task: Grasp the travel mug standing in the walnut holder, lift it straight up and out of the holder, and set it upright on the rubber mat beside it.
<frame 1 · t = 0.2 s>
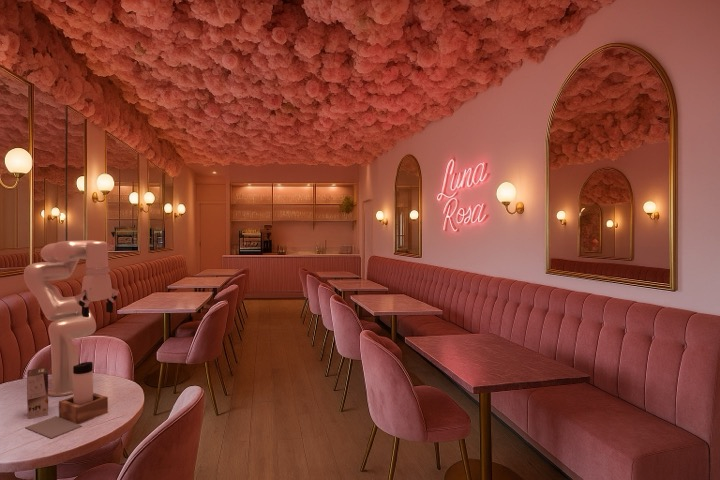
hand: (97, 314, 171), 36 cm above the table, tool pointing down, fingers open, 9 cm apart
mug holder: (83, 414, 162), on the table
coffee box: (38, 413, 163), on the table
travel mug: (83, 415, 162), resting in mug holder
rubber mat: (53, 427, 152), on the table
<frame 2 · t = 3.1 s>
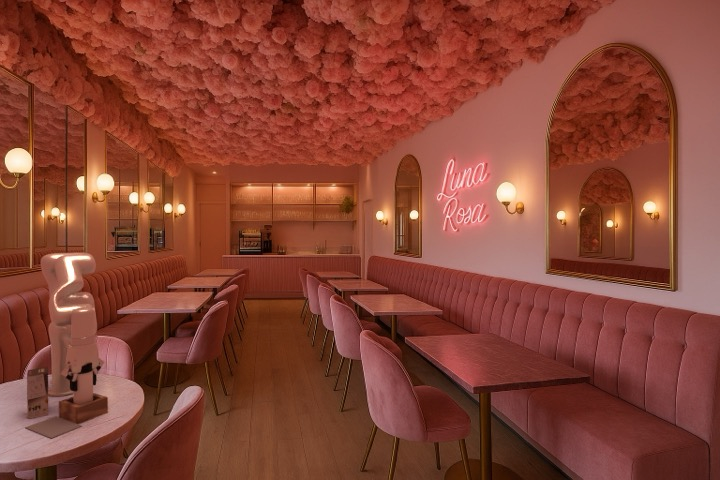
hand: (83, 387, 162), 11 cm above the table, tool pointing down, fingers closed on travel mug, 6 cm apart
travel mug: (83, 415, 162), resting in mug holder, touching gripper
everything else where it was.
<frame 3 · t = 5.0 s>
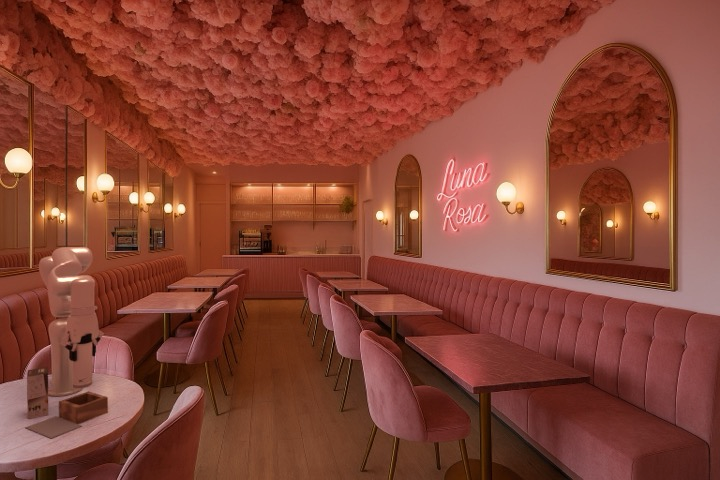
hand: (82, 357, 162), 22 cm above the table, tool pointing down, fingers closed on travel mug, 6 cm apart
travel mug: (83, 385, 162), point 11 cm above the table, touching gripper
everything else where it was.
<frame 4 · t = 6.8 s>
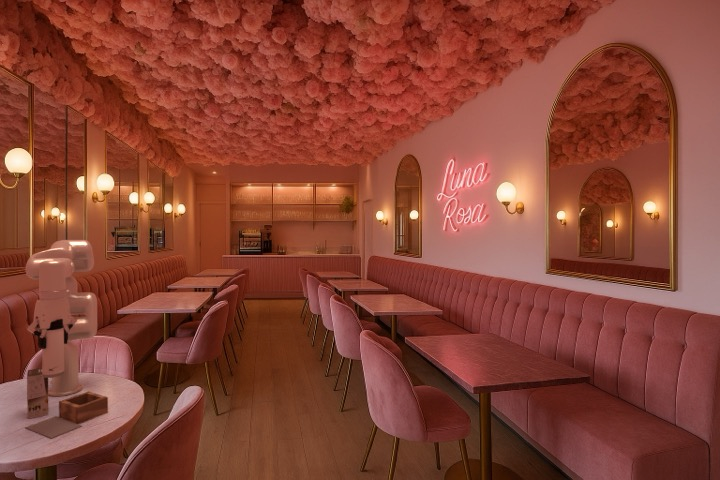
hand: (53, 345, 151), 30 cm above the table, tool pointing down, fingers closed on travel mug, 6 cm apart
travel mug: (53, 375, 151), point 19 cm above the table, touching gripper
everything else where it was.
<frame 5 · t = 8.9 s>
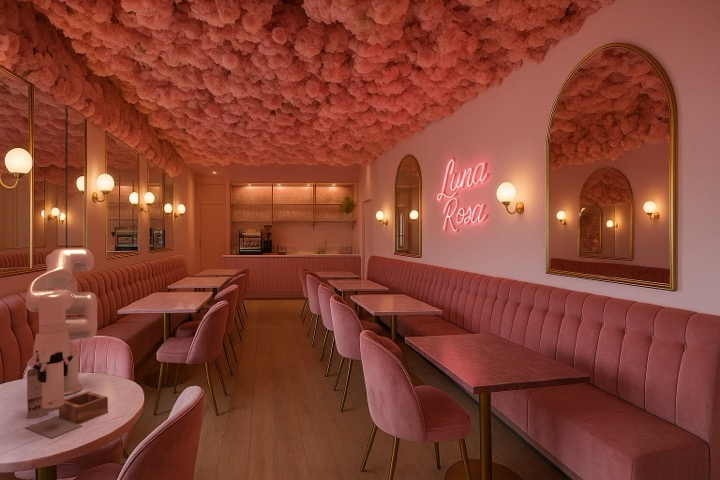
hand: (53, 378, 151), 18 cm above the table, tool pointing down, fingers closed on travel mug, 6 cm apart
travel mug: (53, 408, 151), point 7 cm above the table, touching gripper
everything else where it was.
when the fingers open (12 cm above the table, at t = 10.5 s): travel mug drops 1 cm, resting on rubber mat.
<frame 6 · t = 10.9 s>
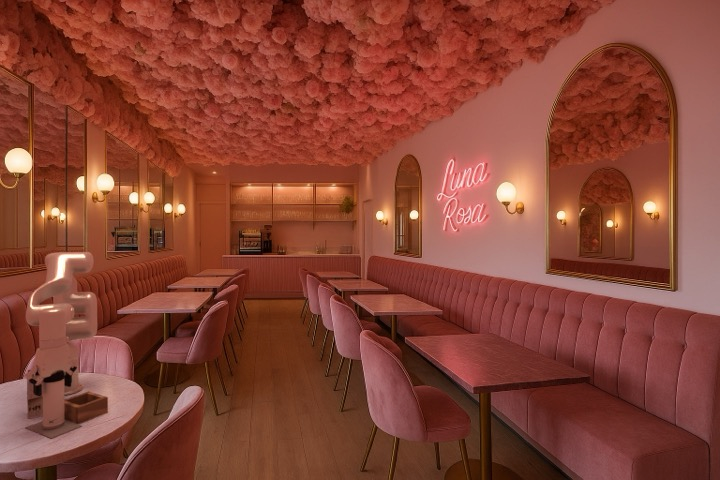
hand: (53, 390, 151), 13 cm above the table, tool pointing down, fingers open, 9 cm apart
travel mug: (54, 426, 152), resting on rubber mat
everything else where it was.
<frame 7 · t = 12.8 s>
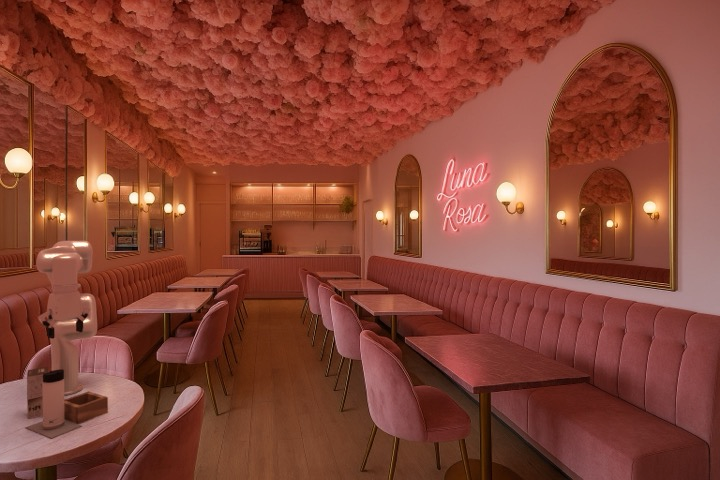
hand: (65, 334, 157), 32 cm above the table, tool pointing down, fingers open, 9 cm apart
nothing on the table moved.
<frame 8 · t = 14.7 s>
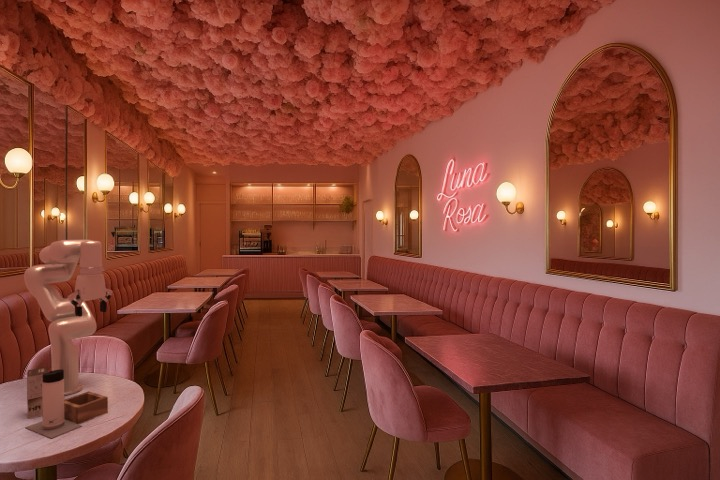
hand: (91, 313, 171), 36 cm above the table, tool pointing down, fingers open, 9 cm apart
nothing on the table moved.
at the end: travel mug inside the target area on the rubber mat (0.3 cm from its centre), point 0.2 cm above the rubber mat's base; travel mug tilted 0°; the gripper is holding nothing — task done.
